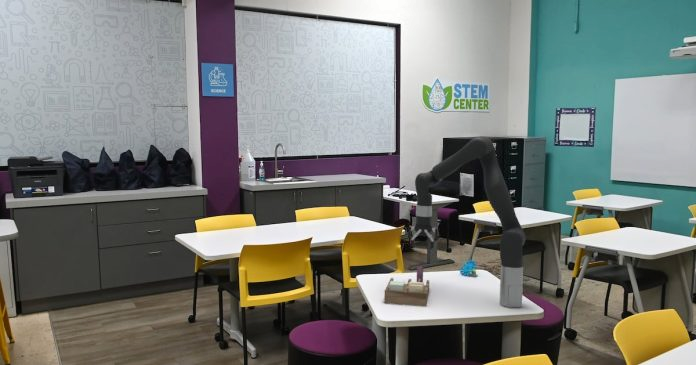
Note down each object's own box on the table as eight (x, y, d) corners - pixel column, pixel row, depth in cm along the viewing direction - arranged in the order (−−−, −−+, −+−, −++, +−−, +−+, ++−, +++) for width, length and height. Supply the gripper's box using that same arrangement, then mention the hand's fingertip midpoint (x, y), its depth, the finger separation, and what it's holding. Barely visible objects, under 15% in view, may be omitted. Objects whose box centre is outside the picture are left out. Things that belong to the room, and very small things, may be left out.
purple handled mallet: (413, 284, 260) (414, 266, 259) (426, 285, 259) (426, 267, 258) (408, 301, 234) (408, 281, 233) (422, 302, 232) (422, 282, 232)
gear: (455, 269, 288) (468, 256, 289) (461, 276, 290) (474, 263, 291) (466, 277, 278) (479, 264, 278) (472, 284, 280) (486, 271, 281)
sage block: (390, 291, 241) (391, 280, 241) (404, 292, 240) (404, 281, 239) (389, 295, 235) (389, 284, 235) (402, 296, 234) (403, 285, 233)
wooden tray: (390, 289, 256) (390, 277, 255) (429, 291, 252) (429, 280, 252) (384, 303, 234) (384, 290, 234) (426, 306, 231) (426, 293, 230)
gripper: (408, 215, 254) (406, 248, 255) (438, 216, 251) (437, 251, 253) (409, 212, 261) (407, 245, 263) (439, 214, 258) (437, 247, 260)
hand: (422, 248), depth 258 cm, fingers open, 8 cm apart
